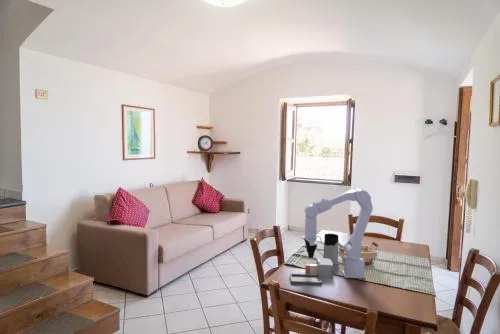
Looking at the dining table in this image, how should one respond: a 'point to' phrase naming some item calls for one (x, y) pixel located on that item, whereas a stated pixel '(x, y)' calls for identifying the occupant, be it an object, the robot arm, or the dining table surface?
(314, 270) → the pink-topped cream pillar
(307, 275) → the tray
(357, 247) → the robot arm
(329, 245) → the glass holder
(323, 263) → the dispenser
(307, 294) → the dining table surface
